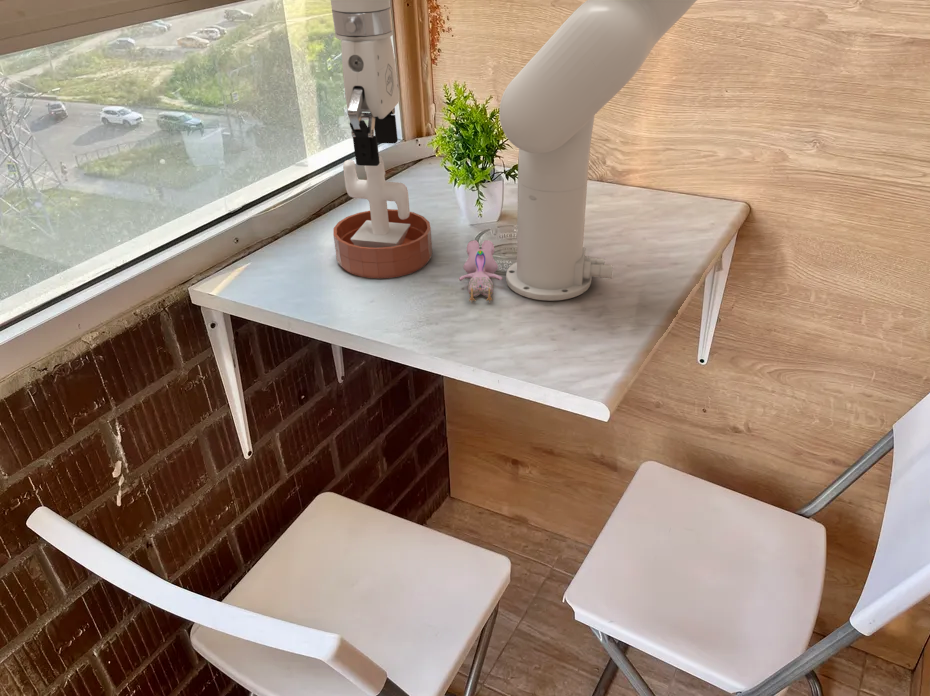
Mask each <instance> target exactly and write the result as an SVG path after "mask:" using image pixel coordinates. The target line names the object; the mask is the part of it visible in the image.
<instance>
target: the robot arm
mask: <svg viewBox="0 0 930 696" xmlns="http://www.w3.org/2000/svg"><path fill="white" fill-rule="evenodd" d="M697 1H698V0H585V1H584V2H583V3H582V4H581V5H580V6H578V7H577V8H576V9H575V10H574V11H573V12H572V13H571V14H570V15H569V17H568V18H567V19H566V20H565V21H564V22H563V23H562V24H561V25H560V26H559V27H558V29H556V31H555V32H554V33H553V34H552V35H551V37H549V39H548V40H547V41H546V42H545V43H544V44H543V45H542V46H541V48H540V49H539V50H537V52H536V53H535V54H534V55H533V56H532V57H531V59H530V60H529V61H528V62H527V63H526V64H525V65H524V66H523V68H522V69H521V70H520V71H519V72H518V73H517V74H516V75H515V76H514V77H513V78H512V79H511V81H510V82H509V83H508V84H507V86H506V87H505V89H504V91H503V94H502V95H501V99H500V103H499V110H498V111H499V122H500V127H501V129H502V131H503V134H504V135H505V137H506V139H507V140H508V141H509V142H510V143H511V144H512V145H513V146H514V147H516V148H517V149H518V161H517V212H516V213H517V215H516V217H517V219H516V224H517V225H516V227H517V228H516V262H513V263H512V264H510V266H509V267H508V268H507V269H506V272H505V282H506V284H507V286H508V287H509V289H510V290H512V291H513V292H514V293H516V294H518V295H520V296H522V297H525V298H529V299H533V300H537V301H549V302H550V301H551V302H556V301H565V300H569V299H573V298H576V297H578V296H580V295H582V294H584V293H585V292H586V291H588V289H590V287H591V284H592V277H594V278H600V279H613V269H614V265H613V264H606V258H592V257H590V256H589V255H586V248H587V247H585V246H584V238H585V237H584V236H585V221H586V206H587V192H588V181H589V165H590V153H591V146H592V145H591V143H592V135H593V129H594V124H595V123H594V121H595V115H597V113H599V112H600V110H601V109H603V108H604V106H606V104H608V103H609V102H610V101H611V100H612V99H613V98H614V97H616V95H617V94H618V93H619V92H620V91H621V90H622V89H623V88H624V87H625V86H626V85H627V84H628V83H629V82H630V80H632V78H634V76H635V75H636V74H637V73H638V71H639V70H640V69H641V68H642V66H643V64H644V63H645V61H646V60H647V58H648V57H649V55H650V53H651V52H652V50H653V48H654V47H655V46H656V44H658V42H659V41H660V40H661V39H662V37H663V36H665V35H666V33H667V32H668V31H669V30H670V29H671V28H672V27H673V26H674V25H675V24H676V23H677V22H678V21H679V20H680V19H681V18H682V17H683V16H684V15H685V14H686V13H687V12H688V11H689V10H690V8H691V7H692V6H694V4H695V3H696V2H697ZM330 6H331V14H332V21H333V28H334V36H335V38H336V39H337V40H340V46H341V47H340V48H341V64H342V77H343V86H344V87H343V88H344V94H345V95H344V96H345V102H346V107H347V108H346V109H347V117H348V119H349V128H350V129H351V137H352V142H353V150H354V156H355V165H357V166H362V167H363V166H378V165H379V163H380V161H379V156H380V154H379V145H378V144H393V145H395V144H397V143H398V129H397V119H396V118H397V117H396V115H395V113H396V107H397V105H398V104H399V102H400V89H399V83H398V74H397V73H398V72H397V67H396V60H395V53H394V47H393V42H392V38H391V37H392V36H393V35H394V31H393V20H392V8H391V0H330ZM366 121H368V122H367V123H366Z"/></svg>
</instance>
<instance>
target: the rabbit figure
mask: <svg viewBox="0 0 930 696" xmlns="http://www.w3.org/2000/svg"><path fill="white" fill-rule="evenodd" d="M466 253H467V255H468V257H467V259H466V261H464V264H463V266H462V268H463V270H464V272H465V273H466V274H463V275H461V276H459V277H458V280H459V281H464V280H465V279H470V280H469V281H468V287H467V288H468V289H467V292H468V294H469V296H470V297H469V300H468V302H473V301H474V302H476V299H475V298H476V297H478V296H479V295H482V296H484V297H485V298H486V300H485V302H487V301H489V304H491V301H493V298H492V295H493V293H494V284H493V281H492V279H497V280H498V281H503V277H502V276H501V275H498V274H496V272H497V270H498V269H499V265H498V263H497V261H496V260H495V259H494V257H493V256H494V253H495V245H494V242H492V241H491V240H489V239H485V240H483V242H482V243H481V248H480V243H479V242H478V240H476V239H474V240H472V239H471V240H470V241H469V242H468V243H467V245H466Z"/></svg>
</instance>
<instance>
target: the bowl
mask: <svg viewBox="0 0 930 696" xmlns="http://www.w3.org/2000/svg"><path fill="white" fill-rule="evenodd" d="M387 209H388V220H389V222H393V223H404V224H410V227H409V229H408V232H407V234H406V237H405V239H404V242H403V244H402V245H397V246H393V247H380V248H373V247H361V246H357V245H354V244H353V242H352V241H351V240H350V239H351V238H352V237H353V235H354V234H355V233H356V232H357V231H358V230H359V228H360V227H361V226H362V225H363V224H364V223H365V221H366V220H370V221H371V213H370V210H365V211H360V212H356V213H354V214H351V215H348V216H346V217H344V218H343V219H341V220H339V221H338V222H337V223H336V225H335V226H334V227H333V229H332V230H333V234H332V235H333V243H334V249H335V257H336V261H337V263H338V264H339V266H340V267H341V268H342V269H343V270H345V271H346V273H348V274H349V273H350V274H351V275H354V276H357V277H361V278H366V279H393V278H399V277H405V276H407V275H410V274H413V273H416V272H418V271H419V270H421V269H423V268H424V267H425V266H426V265H427V264H428V262H430V259H431V257H432V256H433V243H432V242H433V241H432V227H431V222H430V221H429V220H428V219H427V218H426V217H425V216H423V215H421V214H418V213H416V212H414V211H410V215H409V217H408V218H407V219H404V220H402V219H400V218H399V216H398V209H395V208H393V209H392V208H387Z"/></svg>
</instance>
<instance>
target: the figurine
mask: <svg viewBox="0 0 930 696" xmlns="http://www.w3.org/2000/svg"><path fill="white" fill-rule="evenodd" d="M379 161H380V163H379V165H378V166H364V172H365V174H366V179H359V177H358V174H357V167H356V162H355V161H354V160H353V159H347V160H344V162H343V164H342V170H343V178H344V186H345V190H346V193H347V196H349V197H350V198H352V199H361V200H367V201H368V202H369V204H368V205H369V211H370V213H371V221H370V220H366V221H365V223H364V224H363V225H362V226H361V227H360V228H359V230H358V231H357V232H356V233H355V234H354V235H353V237H352V238H351V239H350V240H351V241H352V242H353V244H354V245H357V246H361V247H373V248H380V247H393V246H397V245H402V244H403V242H404V239H405V237H406V234H407V232H408V229H409V227H410V224H404V223H393V222H389V220H388V209H389V208H388V202H395V204H396V208H397V210H398V216H399V218H400V219H402V220H404V219H407V218H408V217H409V215H410V212H411V211H410V197H409V190H408V186H406V184H405V183H403V182H395V181H387V180H386V177H385V176H386V171H385V163H384V159H383V156H381V155H379Z"/></svg>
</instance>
